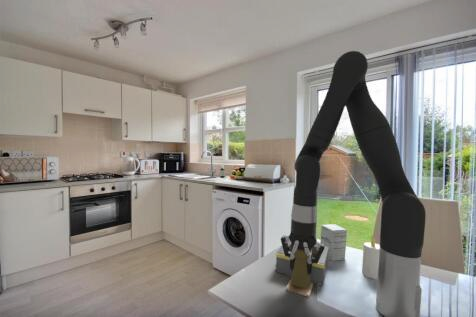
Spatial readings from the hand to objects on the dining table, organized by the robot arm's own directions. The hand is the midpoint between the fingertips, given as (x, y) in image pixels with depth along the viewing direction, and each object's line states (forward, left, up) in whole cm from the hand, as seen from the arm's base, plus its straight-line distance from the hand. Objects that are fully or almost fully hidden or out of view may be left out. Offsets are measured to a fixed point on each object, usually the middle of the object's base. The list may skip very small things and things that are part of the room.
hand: (300, 271), depth 72 cm
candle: (-22, -22, -5) cm, 32 cm away
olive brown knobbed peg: (0, 0, -4) cm, 4 cm away
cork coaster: (0, 0, -5) cm, 5 cm away
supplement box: (-8, -30, -5) cm, 32 cm away
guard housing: (+1, -13, -5) cm, 14 cm away
